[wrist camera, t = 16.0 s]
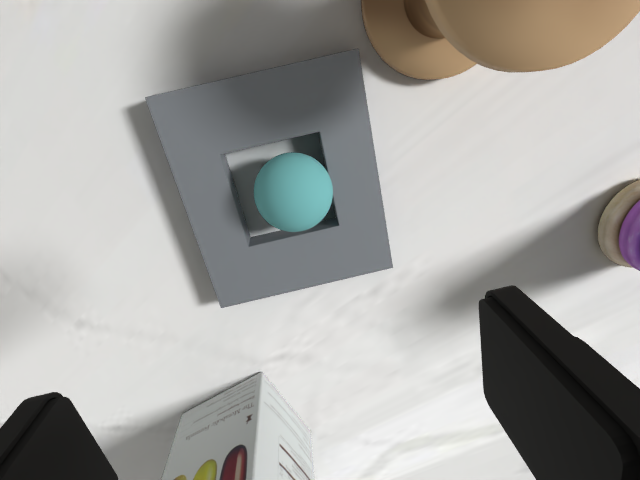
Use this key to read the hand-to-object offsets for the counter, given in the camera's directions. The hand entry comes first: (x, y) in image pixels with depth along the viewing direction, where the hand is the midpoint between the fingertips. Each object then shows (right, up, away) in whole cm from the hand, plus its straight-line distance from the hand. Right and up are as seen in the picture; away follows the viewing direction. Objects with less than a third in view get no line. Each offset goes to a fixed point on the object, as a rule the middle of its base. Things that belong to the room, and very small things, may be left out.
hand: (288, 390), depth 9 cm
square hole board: (-2, +8, +21) cm, 22 cm away
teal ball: (-2, +8, +21) cm, 22 cm away
